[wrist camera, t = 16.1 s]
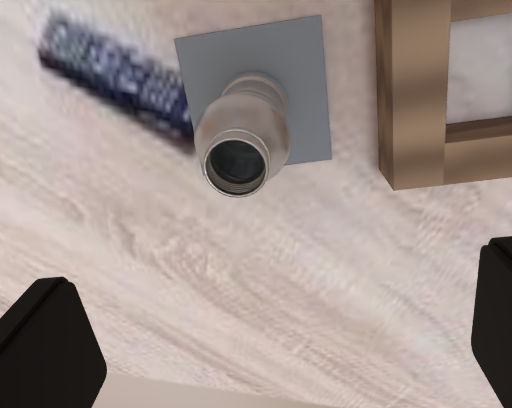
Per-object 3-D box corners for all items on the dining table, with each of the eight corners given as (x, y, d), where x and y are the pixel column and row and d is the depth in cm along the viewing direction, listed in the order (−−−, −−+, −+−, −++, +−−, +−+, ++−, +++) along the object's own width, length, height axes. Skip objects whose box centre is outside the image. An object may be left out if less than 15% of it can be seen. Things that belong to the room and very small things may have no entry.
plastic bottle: (273, 143, 42) (270, 236, 24) (213, 119, 41) (162, 196, 23) (299, 84, 40) (316, 138, 21) (234, 57, 39) (196, 90, 21)
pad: (175, 38, 39) (173, 38, 38) (320, 15, 37) (321, 15, 37) (204, 173, 45) (203, 175, 44) (331, 157, 43) (331, 159, 43)
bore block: (374, -19, 36) (391, -26, 31) (589, -55, 34) (648, -70, 29) (379, 169, 43) (393, 190, 38) (557, 147, 41) (599, 167, 36)
